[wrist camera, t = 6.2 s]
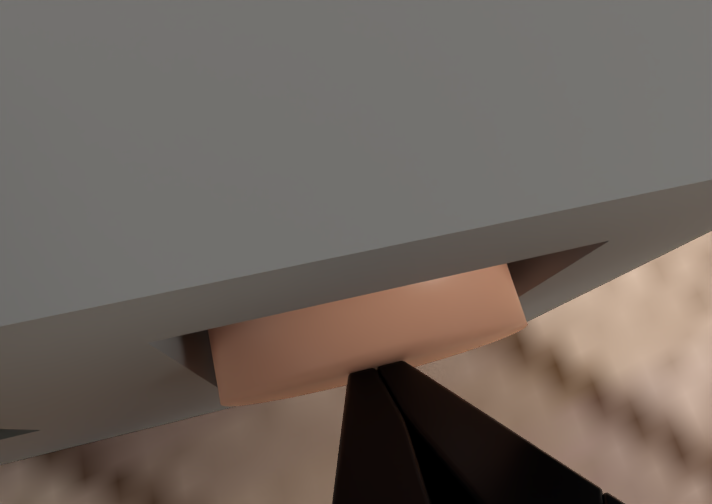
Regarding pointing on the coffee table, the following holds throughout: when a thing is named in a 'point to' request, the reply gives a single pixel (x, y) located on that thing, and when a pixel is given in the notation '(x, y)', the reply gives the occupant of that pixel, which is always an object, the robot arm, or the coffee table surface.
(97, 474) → the coffee table surface
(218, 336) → the terracotta button
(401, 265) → the console
